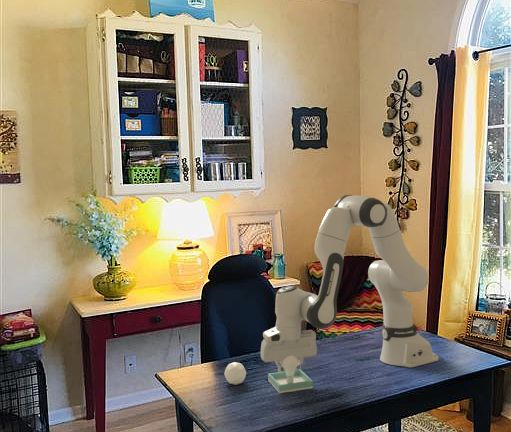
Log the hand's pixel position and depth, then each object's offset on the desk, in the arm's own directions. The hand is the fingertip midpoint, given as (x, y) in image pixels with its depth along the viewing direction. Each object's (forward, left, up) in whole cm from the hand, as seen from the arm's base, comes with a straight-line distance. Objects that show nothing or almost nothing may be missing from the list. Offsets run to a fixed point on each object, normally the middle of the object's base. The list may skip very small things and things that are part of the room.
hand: (289, 370), depth 205 cm
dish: (0, 0, -5) cm, 5 cm away
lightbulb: (0, 0, -5) cm, 5 cm away
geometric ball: (+18, -8, -5) cm, 20 cm away
